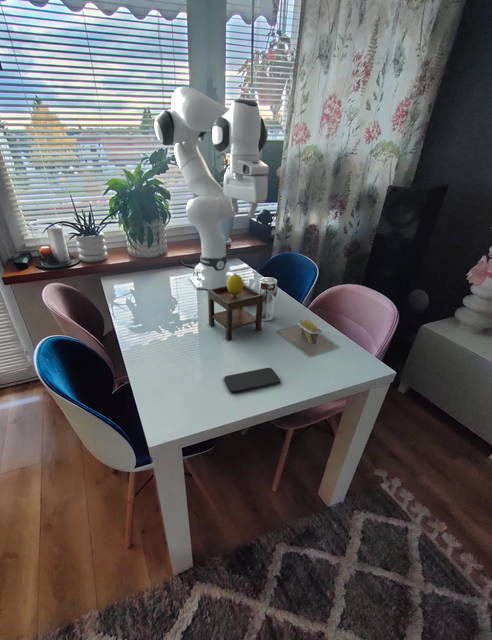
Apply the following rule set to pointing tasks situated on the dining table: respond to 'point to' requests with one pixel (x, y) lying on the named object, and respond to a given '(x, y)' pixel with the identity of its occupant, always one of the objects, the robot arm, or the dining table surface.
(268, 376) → the phone
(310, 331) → the platform
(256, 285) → the shaker set
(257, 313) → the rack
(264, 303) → the beer glass
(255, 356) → the dining table surface
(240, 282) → the lemon
